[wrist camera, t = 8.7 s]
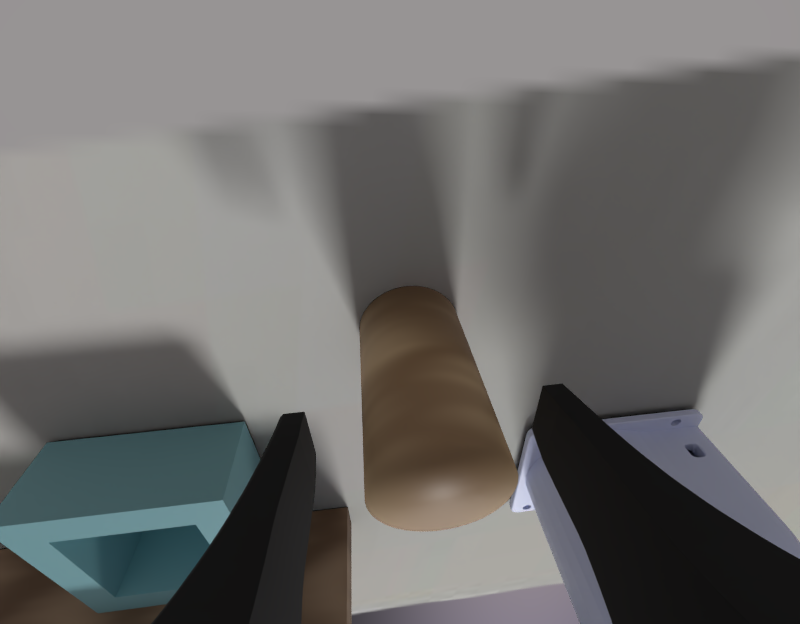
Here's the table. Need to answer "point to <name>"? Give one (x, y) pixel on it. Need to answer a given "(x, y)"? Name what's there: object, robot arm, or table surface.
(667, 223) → the table surface
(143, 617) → the wall
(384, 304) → the dowel
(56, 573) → the socket block
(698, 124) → the table surface
